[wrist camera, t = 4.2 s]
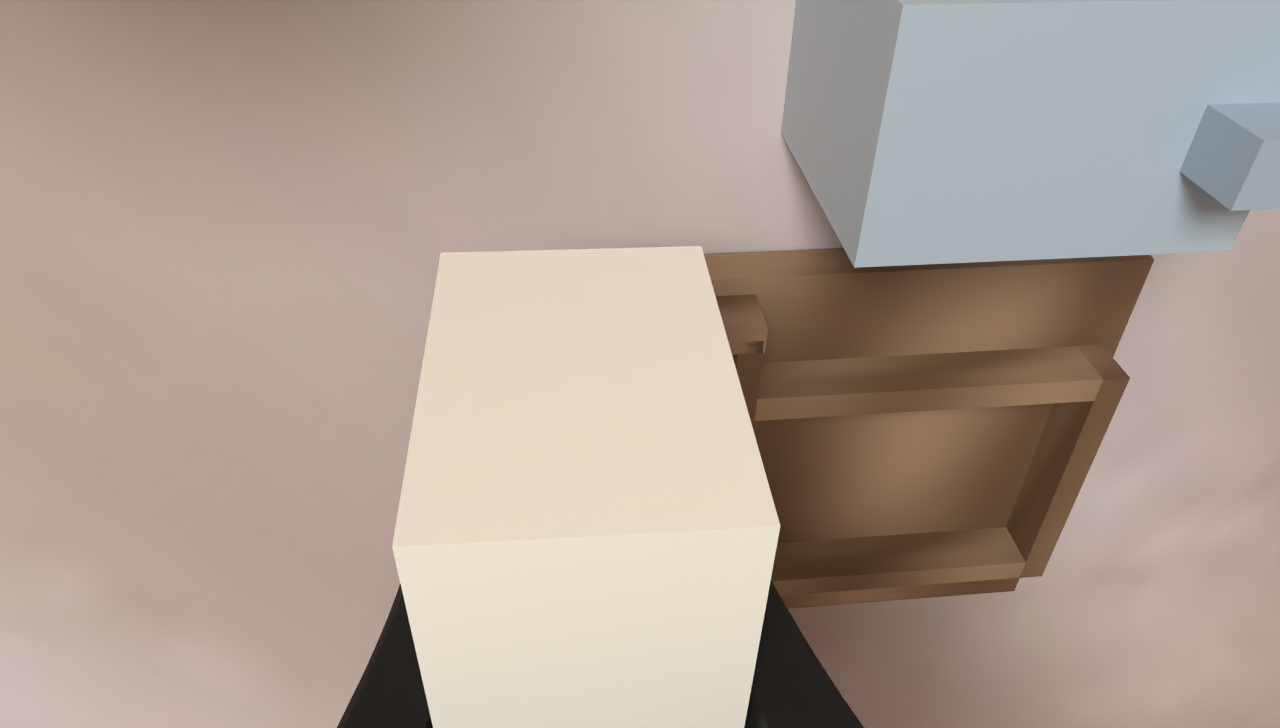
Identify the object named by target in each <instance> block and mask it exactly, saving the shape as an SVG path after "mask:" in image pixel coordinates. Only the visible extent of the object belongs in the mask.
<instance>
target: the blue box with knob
mask: <svg viewBox="0 0 1280 728" xmlns="http://www.w3.org/2000/svg"><path fill="white" fill-rule="evenodd" d="M781 134H782V136H783V138H784V139H785V141H786V143H787V145H788V147H789V149H790V151H791V152H792V154H793V156H794V158H795V160H796V162H797V163H798V165H799V167H800V169H801V171H802V173H803V174H804V176H805V178H806V180H807V182H808V184H809V185H810V187H811V189H812V191H813V193H814V195H815V196H816V198H817V200H818V202H819V204H820V206H821V207H822V209H823V211H824V213H825V215H826V217H827V218H828V220H829V222H830V224H831V226H832V228H833V229H834V231H835V233H836V235H837V237H838V239H839V241H840V242H841V244H842V246H843V248H844V250H845V252H846V253H847V255H848V257H849V259H850V261H851V263H852V264H853V266H854V268H857V267H880V266H902V265H925V264H948V263H971V262H994V261H1017V260H1040V259H1062V258H1085V257H1108V256H1131V255H1154V254H1177V253H1200V252H1223V251H1230V250H1231V248H1232V246H1233V243H1234V241H1235V239H1236V237H1237V235H1238V233H1239V231H1240V229H1241V227H1242V225H1243V223H1244V221H1245V219H1246V217H1247V215H1248V213H1249V210H1267V209H1280V0H796V8H795V16H794V25H793V34H792V43H791V51H790V60H789V69H788V78H787V86H786V95H785V104H784V113H783V121H782V130H781Z"/></svg>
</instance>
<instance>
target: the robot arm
mask: <svg viewBox="0 0 1280 728" xmlns="http://www.w3.org/2000/svg"><path fill="white" fill-rule="evenodd" d="M337 728H433V725H432V721H431V716H430V712H429V708H428V703H427V699H426V694H425V690H424V685H423V681H422V676H421V672H420V668H419V663H418V659H417V654H416V650H415V645H414V641H413V637H412V632H411V628H410V623H409V619H408V614H407V610H406V606H405V601H404V597H403V592H402V588H401V583H400V586H399V589H398V592H397V595H396V598H395V600H394V603H393V605H392V608H391V611H390V613H389V616H388V618H387V621H386V623H385V626H384V628H383V631H382V633H381V635H380V638H379V640H378V642H377V645H376V647H375V649H374V651H373V654H372V656H371V658H370V660H369V663H368V665H367V667H366V669H365V671H364V674H363V676H362V678H361V680H360V682H359V684H358V686H357V688H356V690H355V692H354V694H353V696H352V698H351V700H350V702H349V704H348V706H347V708H346V710H345V712H344V714H343V717H342V719H341V721H340V723H339V725H338V727H337ZM744 728H864V727H863V726H862V724H861V723H860V722H859V720H858V719H857V717H856V716H855V714H854V713H853V712H852V710H851V709H850V707H849V706H848V704H847V703H846V701H845V700H844V698H843V697H842V695H841V694H840V692H839V691H838V689H837V688H836V686H835V685H834V683H833V682H832V680H831V679H830V677H829V676H828V674H827V673H826V671H825V670H824V668H823V667H822V665H821V663H820V662H819V660H818V659H817V657H816V656H815V654H814V653H813V651H812V649H811V648H810V646H809V645H808V643H807V641H806V640H805V638H804V636H803V635H802V633H801V631H800V630H799V628H798V626H797V625H796V623H795V621H794V619H793V618H792V616H791V614H790V613H789V611H788V609H787V607H786V606H785V604H784V602H783V600H782V598H781V597H780V595H779V593H778V591H777V589H776V587H775V586H774V584H773V582H772V580H771V581H770V587H769V592H768V598H767V603H766V609H765V615H764V620H763V626H762V631H761V637H760V642H759V648H758V654H757V659H756V665H755V670H754V676H753V682H752V687H751V693H750V698H749V704H748V710H747V715H746V721H745V726H744Z"/></svg>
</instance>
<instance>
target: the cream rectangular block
mask: <svg viewBox="0 0 1280 728" xmlns="http://www.w3.org/2000/svg"><path fill="white" fill-rule="evenodd" d="M779 531H780V523H779V519H778V516H777V512H776V509H775V505H774V501H773V498H772V494H771V491H770V487H769V484H768V480H767V477H766V473H765V470H764V466H763V463H762V459H761V455H760V452H759V448H758V445H757V441H756V438H755V434H754V431H753V427H752V424H751V420H750V417H749V413H748V410H747V406H746V402H745V399H744V395H743V392H742V388H741V385H740V381H739V378H738V374H737V371H736V367H735V364H734V360H733V357H732V353H731V349H730V346H729V342H728V339H727V335H726V332H725V328H724V325H723V321H722V318H721V314H720V311H719V307H718V304H717V300H716V296H715V293H714V289H713V286H712V282H711V279H710V275H709V272H708V268H707V265H706V261H705V258H704V254H703V251H702V247H701V246H684V247H646V248H608V249H570V250H533V251H495V252H457V253H441V255H440V261H439V267H438V273H437V279H436V285H435V291H434V297H433V303H432V309H431V315H430V321H429V327H428V333H427V339H426V345H425V352H424V358H423V364H422V370H421V376H420V382H419V388H418V394H417V400H416V406H415V412H414V418H413V424H412V430H411V436H410V442H409V448H408V454H407V461H406V467H405V473H404V479H403V485H402V491H401V497H400V503H399V509H398V515H397V521H396V527H395V533H394V539H393V545H392V548H393V552H394V557H395V561H396V566H397V570H398V575H399V579H400V583H401V588H402V592H403V597H404V601H405V606H406V610H407V614H408V619H409V623H410V628H411V632H412V637H413V641H414V645H415V650H416V654H417V659H418V663H419V668H420V672H421V676H422V681H423V685H424V690H425V694H426V699H427V703H428V708H429V712H430V716H431V721H432V725H433V728H744V726H745V721H746V715H747V710H748V704H749V698H750V693H751V687H752V682H753V676H754V670H755V665H756V659H757V654H758V648H759V642H760V637H761V631H762V626H763V620H764V615H765V609H766V603H767V598H768V592H769V587H770V581H771V575H772V570H773V564H774V559H775V553H776V548H777V542H778V536H779Z"/></svg>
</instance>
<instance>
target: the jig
mask: <svg viewBox="0 0 1280 728" xmlns="http://www.w3.org/2000/svg"><path fill="white" fill-rule="evenodd" d="M704 258H705V261H706V265H707V268H708V272H709V275H710V279H711V282H712V286H713V289H714V293H715V296H716V300H717V304H718V307H719V311H720V314H721V318H722V321H723V325H724V328H725V332H726V335H727V339H728V342H729V346H730V349H731V353H732V357H733V360H734V364H735V367H736V371H737V374H738V378H739V381H740V385H741V388H742V392H743V395H744V399H745V402H746V406H747V410H748V413H749V417H750V420H751V424H752V427H753V431H754V434H755V438H756V441H757V445H758V448H759V452H760V455H761V459H762V463H763V466H764V470H765V473H766V477H767V480H768V484H769V487H770V491H771V494H772V498H773V501H774V505H775V509H776V512H777V516H778V519H779V523H780V531H779V536H778V542H777V548H776V553H775V559H774V564H773V570H772V575H771V580H772V582H773V584H774V586H775V587H776V589H777V591H778V593H779V595H780V597H781V598H782V600H783V602H784V604H785V606H786V607H787V608H798V607H811V606H824V605H837V604H850V603H863V602H876V601H889V600H902V599H915V598H928V597H941V596H954V595H967V594H980V593H993V592H1006V591H1014V590H1015V588H1016V585H1017V583H1018V581H1019V578H1023V577H1036V576H1042V574H1043V572H1044V570H1045V568H1046V565H1047V563H1048V561H1049V559H1050V556H1051V554H1052V552H1053V550H1054V547H1055V545H1056V543H1057V541H1058V538H1059V536H1060V534H1061V532H1062V529H1063V527H1064V525H1065V523H1066V520H1067V518H1068V516H1069V514H1070V511H1071V509H1072V507H1073V505H1074V502H1075V500H1076V498H1077V496H1078V493H1079V491H1080V489H1081V487H1082V484H1083V482H1084V480H1085V478H1086V475H1087V473H1088V471H1089V469H1090V467H1091V464H1092V462H1093V460H1094V458H1095V455H1096V453H1097V451H1098V449H1099V446H1100V444H1101V442H1102V440H1103V437H1104V435H1105V433H1106V431H1107V428H1108V426H1109V424H1110V422H1111V419H1112V417H1113V415H1114V413H1115V410H1116V408H1117V406H1118V404H1119V401H1120V399H1121V397H1122V395H1123V392H1124V390H1125V388H1126V386H1127V383H1128V381H1129V379H1130V378H1129V376H1128V375H1127V374H1126V373H1125V372H1124V370H1123V369H1122V368H1121V367H1120V366H1119V365H1118V363H1117V362H1116V361H1115V360H1114V359H1113V356H1114V353H1115V351H1116V349H1117V346H1118V344H1119V341H1120V339H1121V337H1122V334H1123V332H1124V330H1125V327H1126V325H1127V323H1128V320H1129V318H1130V315H1131V313H1132V311H1133V308H1134V306H1135V304H1136V301H1137V299H1138V296H1139V294H1140V292H1141V289H1142V287H1143V285H1144V282H1145V280H1146V278H1147V275H1148V273H1149V270H1150V268H1151V266H1152V263H1153V261H1154V259H1153V258H1152V257H1151V256H1150V255H1131V256H1108V257H1085V258H1062V259H1040V260H1017V261H994V262H971V263H948V264H925V265H902V266H880V267H857V268H854V266H853V264H852V263H851V261H850V259H849V257H848V255H847V253H846V252H845V250H844V248H836V249H813V250H790V251H767V252H744V253H721V254H704Z"/></svg>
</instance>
